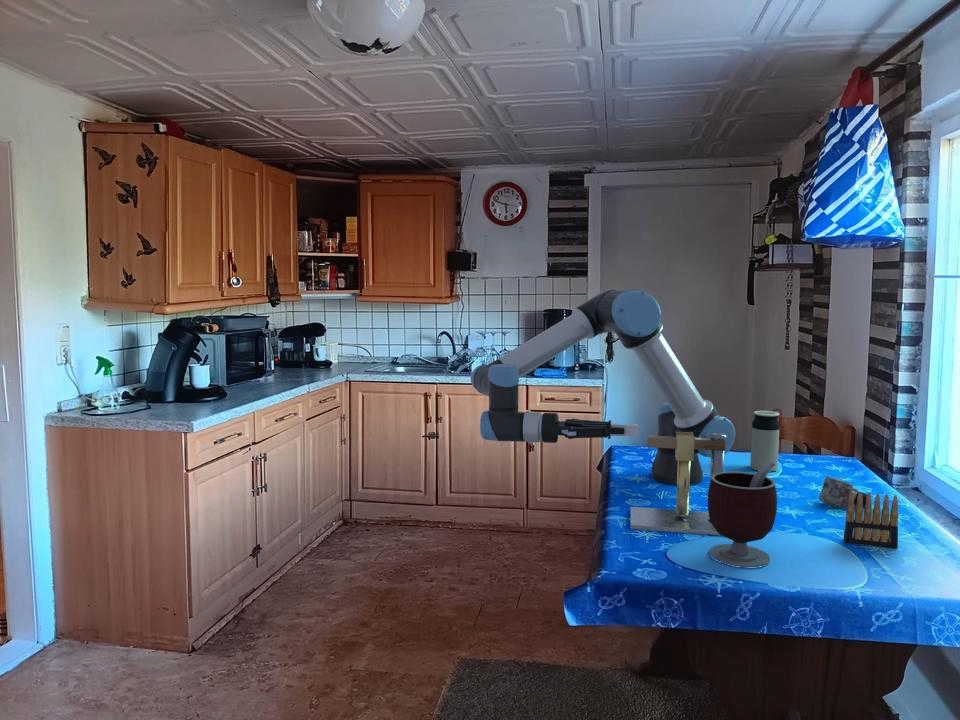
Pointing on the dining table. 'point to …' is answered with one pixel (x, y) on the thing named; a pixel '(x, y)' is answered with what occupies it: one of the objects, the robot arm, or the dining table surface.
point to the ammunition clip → (871, 522)
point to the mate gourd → (742, 514)
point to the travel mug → (764, 440)
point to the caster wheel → (838, 492)
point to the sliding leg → (683, 470)
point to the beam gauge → (669, 518)
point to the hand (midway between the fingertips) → (638, 430)
